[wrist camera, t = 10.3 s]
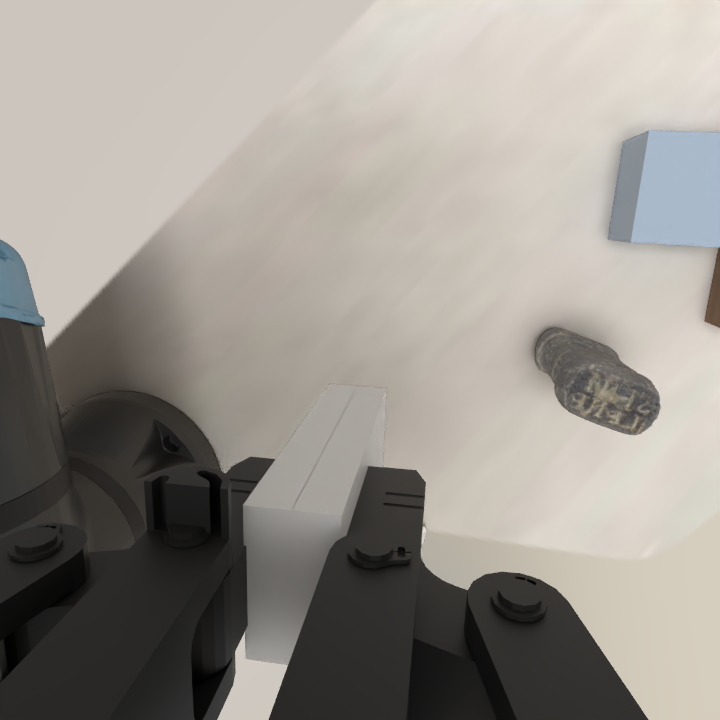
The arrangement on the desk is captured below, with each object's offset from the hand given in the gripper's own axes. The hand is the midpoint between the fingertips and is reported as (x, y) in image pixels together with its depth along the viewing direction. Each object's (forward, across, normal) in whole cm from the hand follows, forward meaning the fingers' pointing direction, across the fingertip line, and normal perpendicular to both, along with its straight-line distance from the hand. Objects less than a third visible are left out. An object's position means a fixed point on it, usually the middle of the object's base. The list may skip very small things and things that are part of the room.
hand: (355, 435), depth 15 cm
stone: (+26, +11, -3) cm, 29 cm away
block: (+26, +16, +8) cm, 32 cm away
